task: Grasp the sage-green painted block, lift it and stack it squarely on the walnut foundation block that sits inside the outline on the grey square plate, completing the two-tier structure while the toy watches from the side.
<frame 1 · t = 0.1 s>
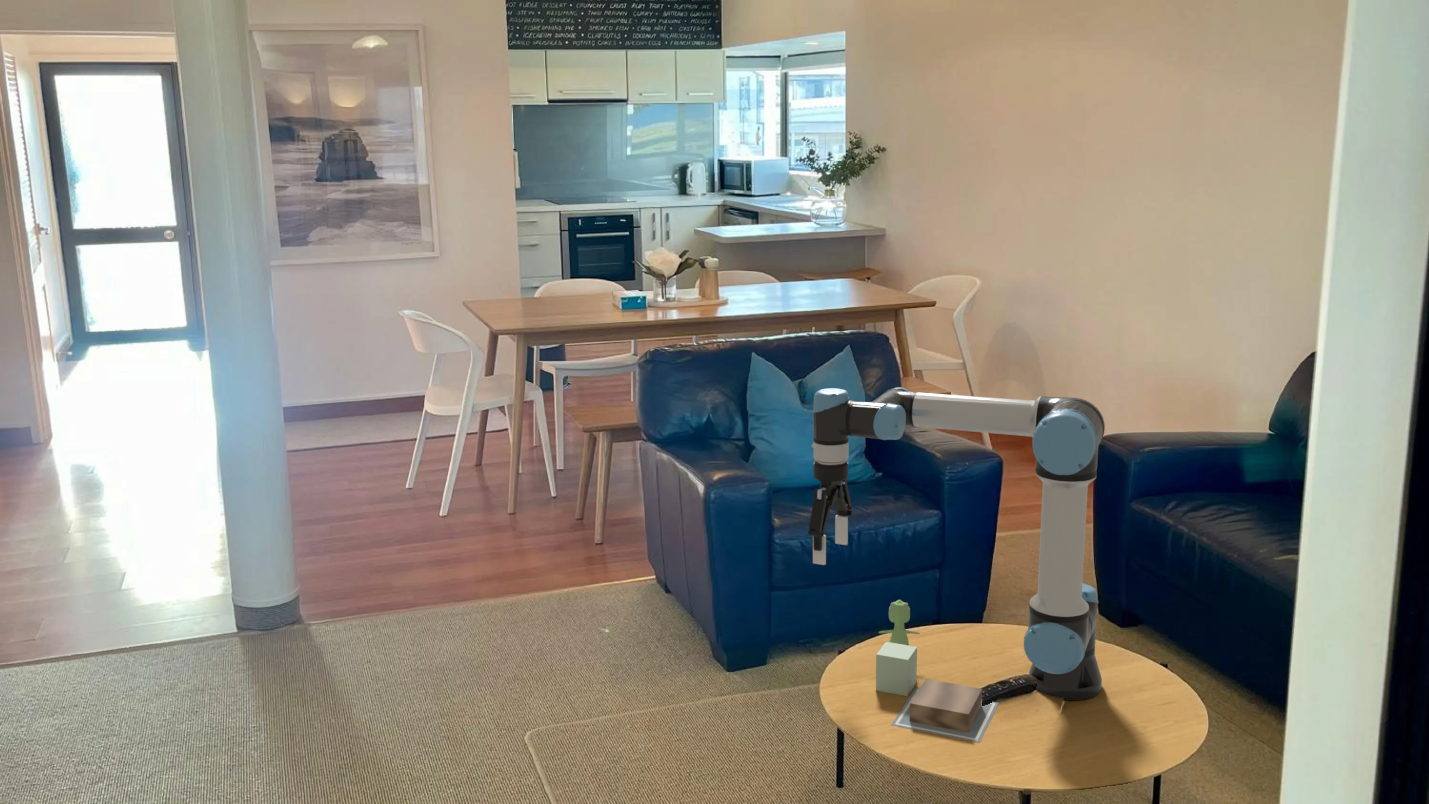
hand: (830, 553, 258), 28 cm above the table, fingers open, 13 cm apart
grey square plate: (945, 716, 243), on the table
sage block: (896, 689, 255), on the table
foundation block: (946, 713, 243), point 1 cm above the table, touching grey square plate
toy: (898, 664, 267), on the table
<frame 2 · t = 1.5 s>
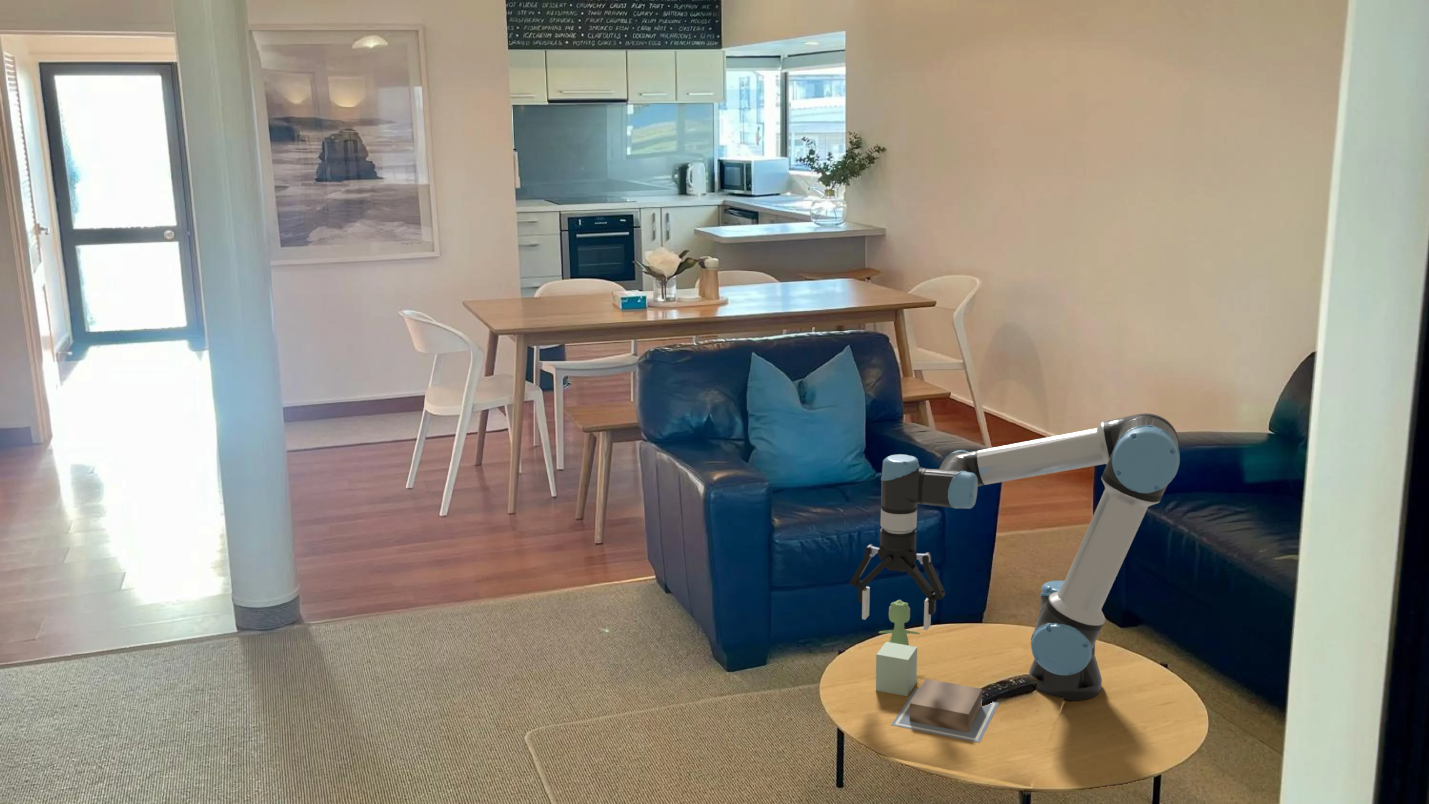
hand: (895, 622, 252), 15 cm above the table, fingers open, 13 cm apart
nothing on the table moved.
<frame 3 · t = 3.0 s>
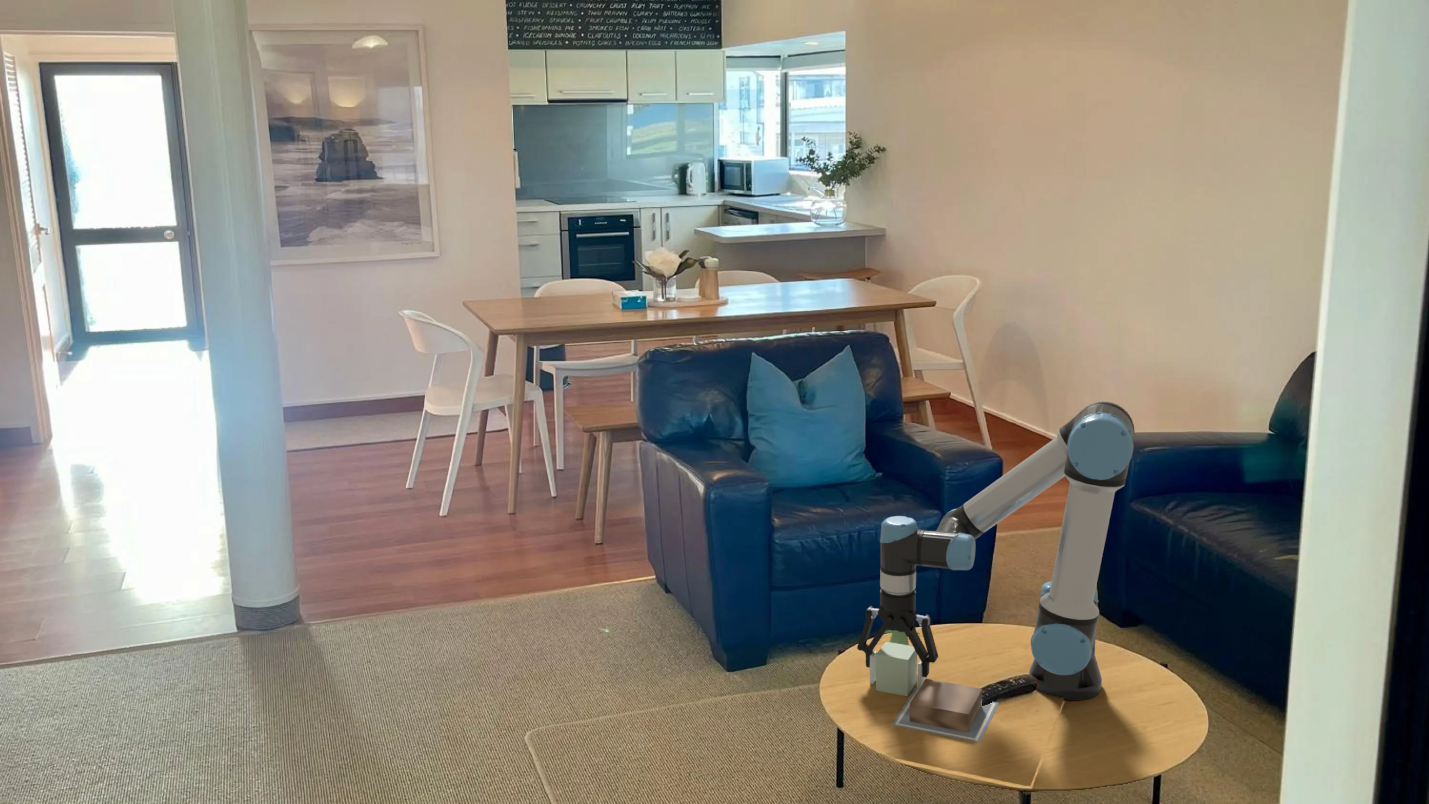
hand: (896, 685, 255), 1 cm above the table, fingers open, 10 cm apart
nothing on the table moved.
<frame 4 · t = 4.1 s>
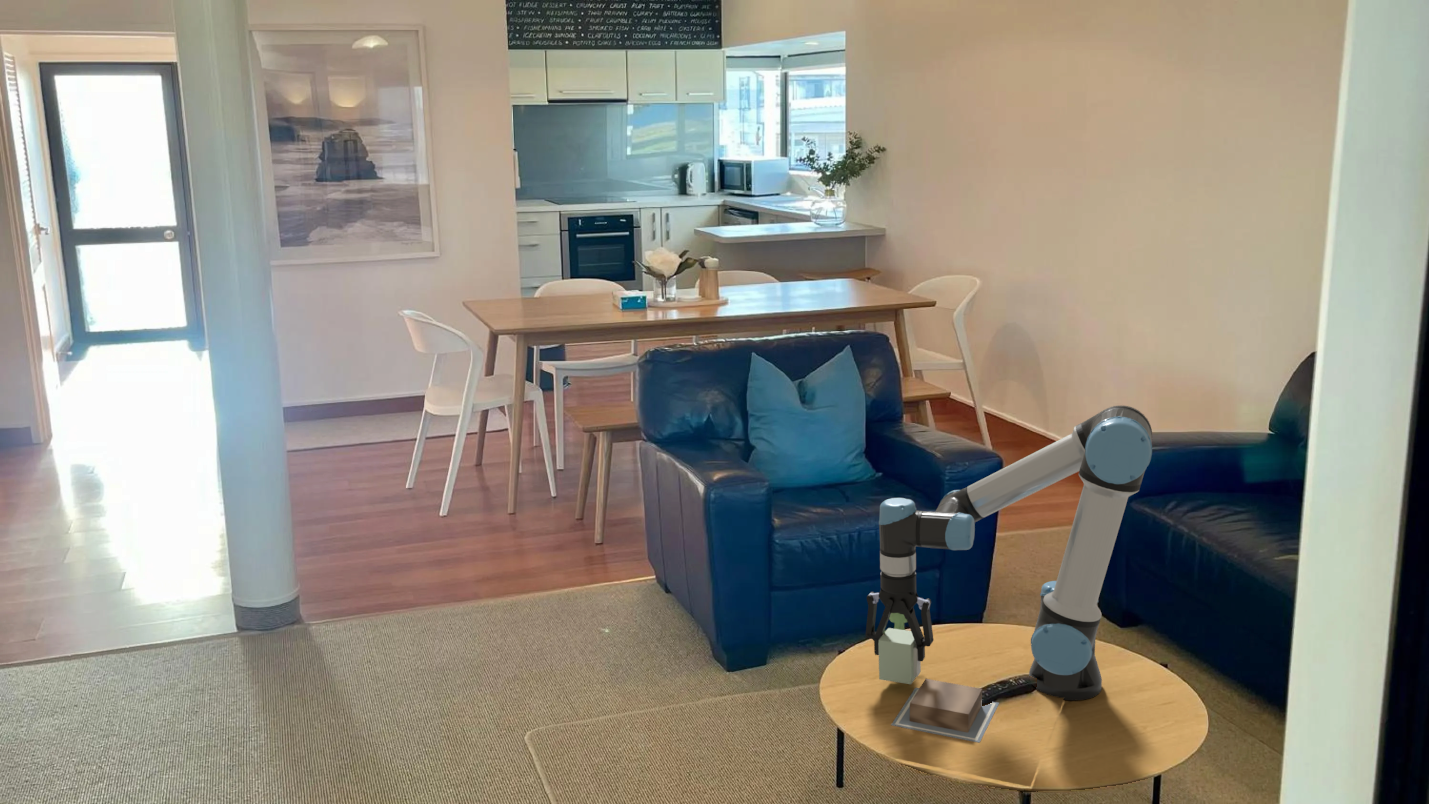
hand: (899, 671, 254), 4 cm above the table, fingers closed on sage block, 7 cm apart
sage block: (899, 675, 254), point 3 cm above the table, touching gripper
everything else where it was.
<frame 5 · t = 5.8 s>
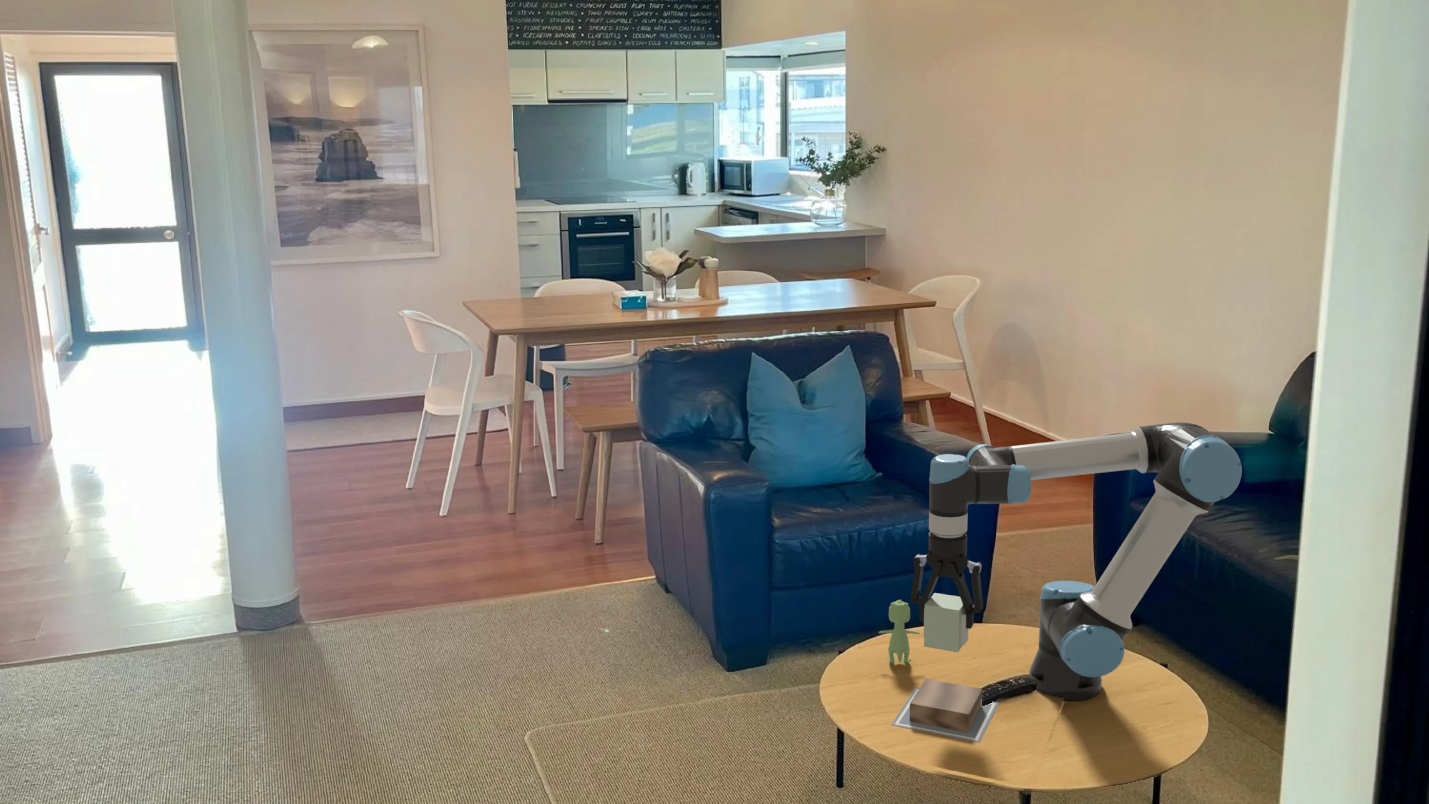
hand: (945, 638, 240), 17 cm above the table, fingers closed on sage block, 7 cm apart
sage block: (945, 642, 240), point 16 cm above the table, touching gripper
everything else where it was.
when the fingers open (6 cm above the table, at t = 7.7 s): sage block stays where it is, resting on foundation block.
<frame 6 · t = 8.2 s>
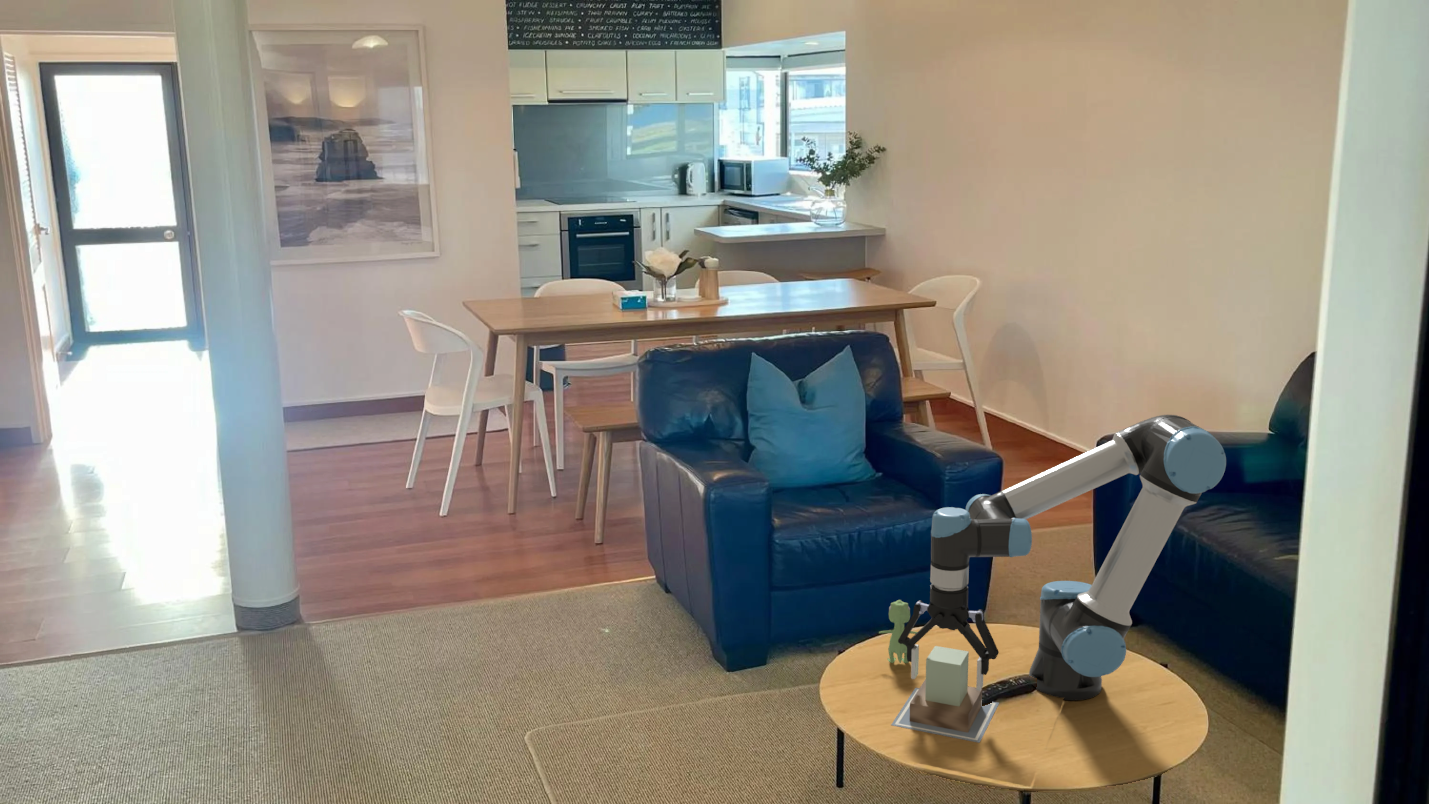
hand: (946, 682, 241), 8 cm above the table, fingers open, 13 cm apart
sage block: (946, 695, 242), point 5 cm above the table, touching foundation block
foundation block: (946, 713, 243), point 1 cm above the table, touching grey square plate, sage block
everything else where it was.
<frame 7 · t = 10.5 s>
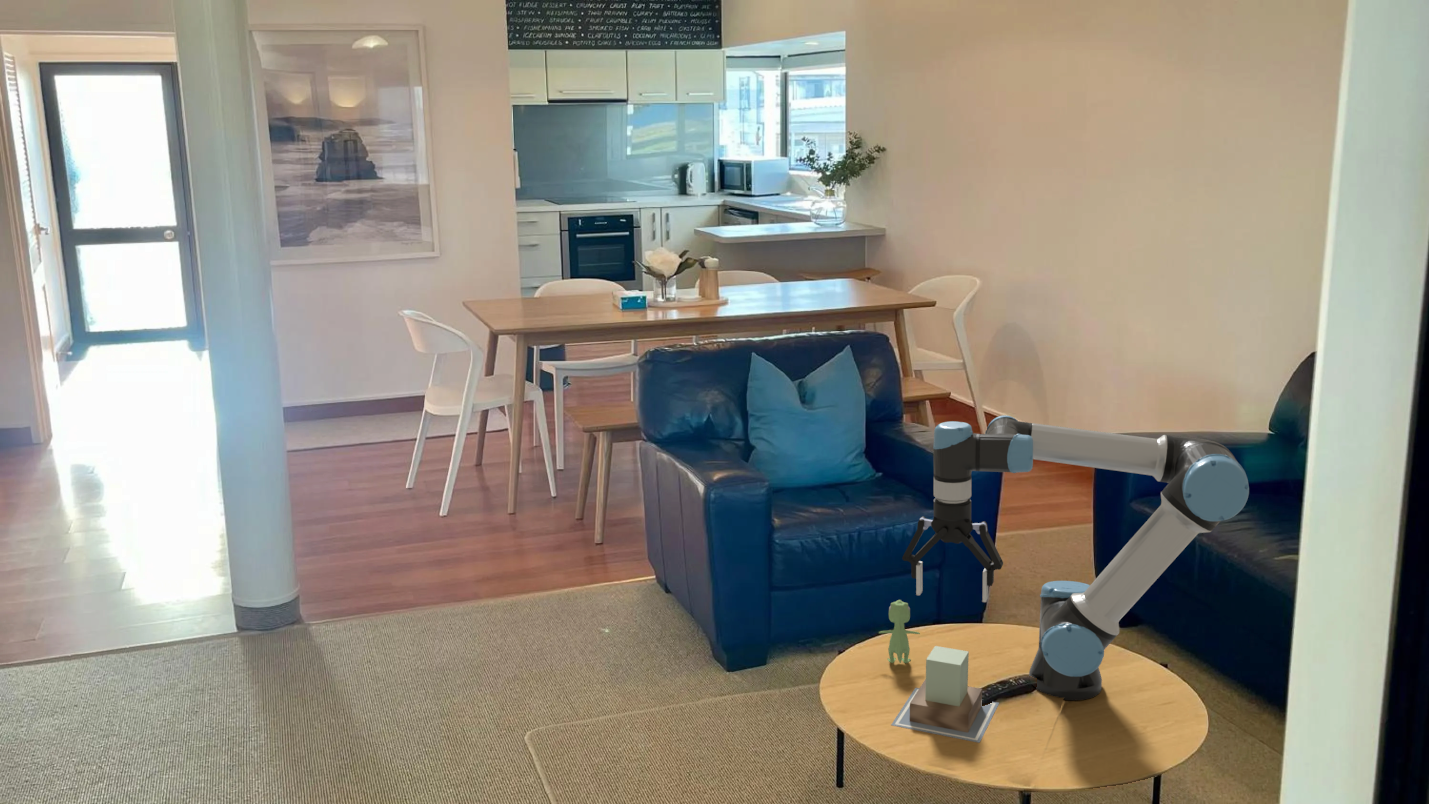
hand: (952, 596, 243), 24 cm above the table, fingers open, 13 cm apart
nothing on the table moved.
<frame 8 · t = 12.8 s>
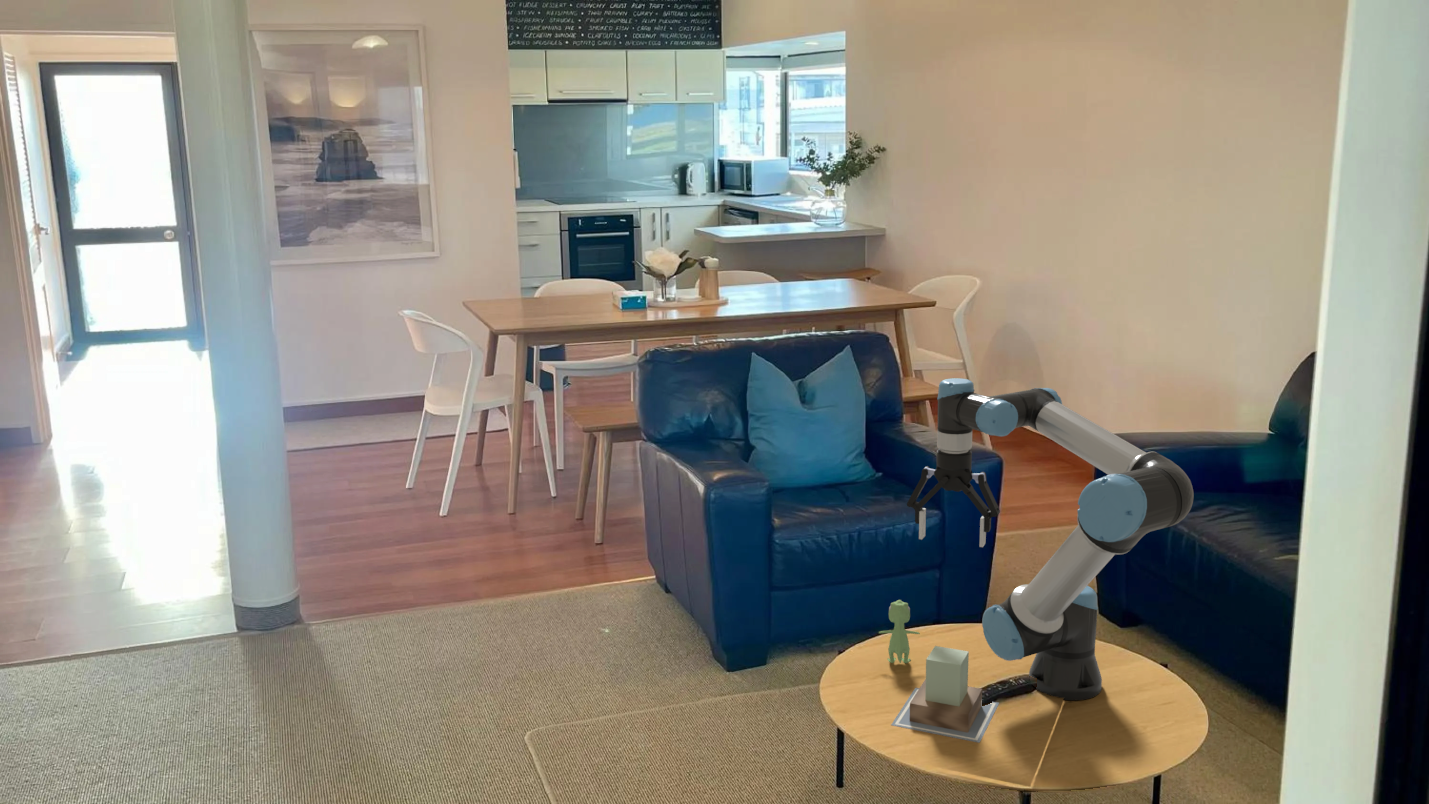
hand: (951, 541, 262), 29 cm above the table, fingers open, 13 cm apart
nothing on the table moved.
at the end: sage block inside the target area on the foundation block (0.0 cm from its centre), point 4.0 cm above the foundation block's base; sage block tilted 0°; the gripper is holding nothing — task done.
